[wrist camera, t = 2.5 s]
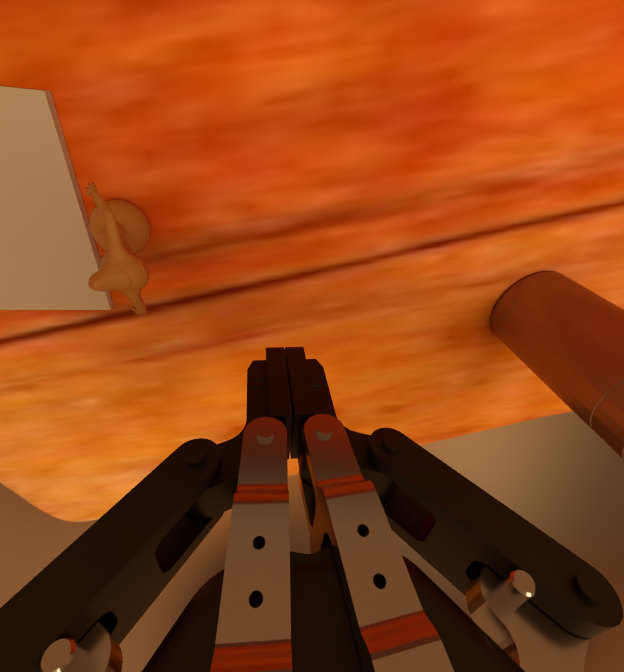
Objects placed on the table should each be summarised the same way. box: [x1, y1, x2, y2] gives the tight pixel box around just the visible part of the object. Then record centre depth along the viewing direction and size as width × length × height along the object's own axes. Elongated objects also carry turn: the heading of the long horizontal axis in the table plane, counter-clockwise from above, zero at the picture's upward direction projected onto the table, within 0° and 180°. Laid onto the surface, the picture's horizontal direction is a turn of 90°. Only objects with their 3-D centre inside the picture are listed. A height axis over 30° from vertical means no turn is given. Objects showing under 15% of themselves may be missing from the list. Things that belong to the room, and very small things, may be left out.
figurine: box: [86, 182, 150, 315], centre depth 22 cm, size 8×6×12 cm
